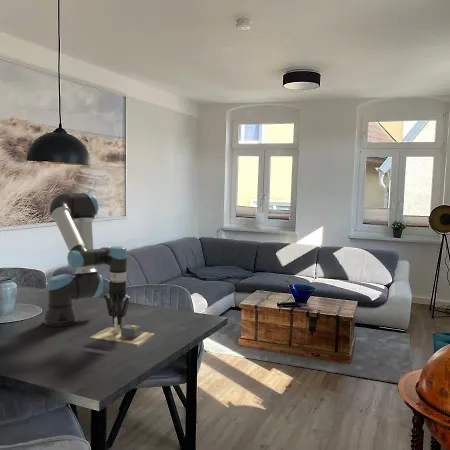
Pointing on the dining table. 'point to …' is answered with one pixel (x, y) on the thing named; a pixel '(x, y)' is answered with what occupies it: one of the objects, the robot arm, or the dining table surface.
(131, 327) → the block
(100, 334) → the board
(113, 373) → the dining table surface
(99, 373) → the dining table surface
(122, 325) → the metal cylinder
